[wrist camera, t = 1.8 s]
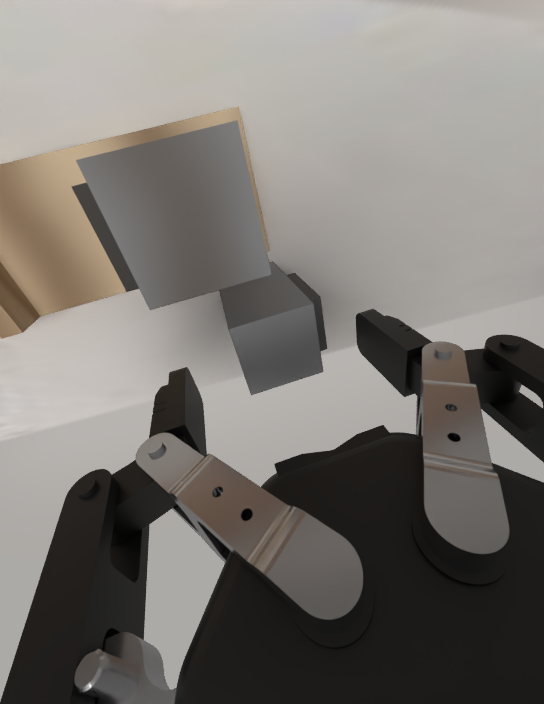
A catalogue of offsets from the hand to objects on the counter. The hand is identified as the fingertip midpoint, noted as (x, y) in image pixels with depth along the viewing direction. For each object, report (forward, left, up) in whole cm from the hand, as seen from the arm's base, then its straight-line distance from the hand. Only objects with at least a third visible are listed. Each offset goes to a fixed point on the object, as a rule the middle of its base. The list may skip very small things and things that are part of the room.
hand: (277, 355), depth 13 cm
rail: (+9, -6, -9) cm, 14 cm away
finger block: (0, 0, -9) cm, 9 cm away
